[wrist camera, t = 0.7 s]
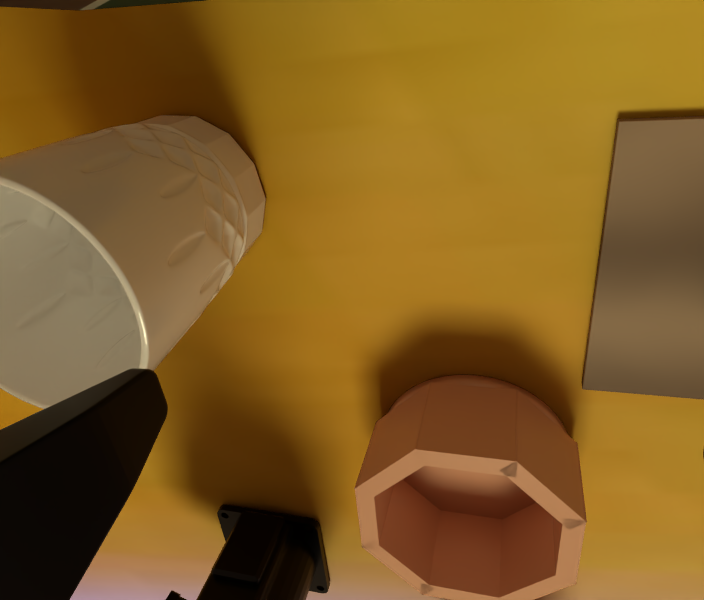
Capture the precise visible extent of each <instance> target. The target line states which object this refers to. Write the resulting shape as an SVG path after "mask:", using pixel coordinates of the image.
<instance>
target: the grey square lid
mask: <svg viewBox="0 0 704 600" xmlns="http://www.w3.org/2000/svg"><path fill="white" fill-rule="evenodd" d="M582 389H586V390H598V391H610V392H622V393H634V394H646V395H658V396H670V397H681V398H693V399H704V116H689V117H661V118H634V119H617V126H616V133H615V141H614V148H613V155H612V163H611V170H610V178H609V185H608V192H607V200H606V207H605V215H604V222H603V229H602V237H601V244H600V252H599V259H598V266H597V274H596V281H595V289H594V296H593V303H592V311H591V318H590V326H589V333H588V340H587V348H586V355H585V363H584V370H583V377H582Z"/></svg>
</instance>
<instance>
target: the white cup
mask: <svg viewBox="0 0 704 600" xmlns="http://www.w3.org/2000/svg"><path fill="white" fill-rule="evenodd" d="M265 202H266V198H265V195H264V192H263V189H262V186H261V183H260V180H259V177H258V174H257V171H256V168H255V165H254V163H253V162H252V161H251V159H250V158H249V157H248V156H247V155H246V153H245V152H244V151H243V150H242V148H241V147H240V146H239V145H238V144H237V143H236V141H235V140H234V139H233V138H232V136H231V135H230V134H229V133H227V132H225V131H223V130H221V129H219V128H217V127H215V126H214V125H212V124H210V123H208V122H206V121H204V120H202V119H200V118H199V117H197V116H176V115H160V116H157V117H153V118H150V119H147V120H144V121H141V122H137V123H134V124H127V125H121V126H115V127H110V128H106V129H103V130H100V131H97V132H94V133H88V134H84V135H79V136H75V137H72V138H68V139H64V140H61V141H57V142H54V143H51V144H47V145H44V146H40V147H37V148H34V149H30V150H27V151H23V152H20V153H17V154H13V155H10V156H6V157H3V158H0V388H1V389H3V390H4V391H6V392H8V393H9V394H11V395H13V396H15V397H17V398H19V399H21V400H23V401H25V402H27V403H30V404H32V405H35V406H37V407H40V408H43V409H46V408H48V407H50V406H52V405H54V404H56V403H58V402H60V401H63V400H65V399H67V398H69V397H71V396H73V395H75V394H77V393H80V392H82V391H84V390H86V389H88V388H90V387H92V386H94V385H96V384H99V383H101V382H103V381H105V380H107V379H109V378H111V377H113V376H115V375H118V374H120V373H122V372H124V371H126V370H128V369H132V368H141V369H150V370H153V371H154V370H155V369H156V368H157V366H158V365H159V364H160V363H161V362H162V360H163V359H164V358H165V357H166V356H167V354H168V353H169V352H170V351H171V350H172V349H173V347H174V346H175V345H176V344H177V343H178V341H179V340H180V339H181V338H182V337H183V335H184V334H185V333H186V332H187V331H188V330H189V328H190V327H191V326H192V325H193V324H194V323H195V321H196V320H197V319H198V318H199V317H200V315H201V314H202V313H203V311H204V310H205V308H206V307H207V305H208V304H209V303H210V302H211V301H212V300H213V298H214V297H215V296H216V295H217V294H218V292H219V291H220V289H221V288H222V286H223V285H224V284H225V283H226V282H227V281H228V279H229V278H230V277H231V276H232V274H233V272H234V269H235V266H236V265H237V264H238V263H239V262H240V261H241V259H242V258H243V257H244V256H245V255H246V253H247V252H248V250H249V249H250V248H251V246H252V245H253V244H254V242H255V241H256V239H257V238H258V237H259V235H260V234H261V232H262V229H263V220H264V211H265Z"/></svg>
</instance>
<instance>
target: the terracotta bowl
mask: <svg viewBox="0 0 704 600" xmlns="http://www.w3.org/2000/svg"><path fill="white" fill-rule="evenodd" d="M355 493H356V501H357V509H358V517H359V525H360V533H361V542H362V548H364V549H365V550H366V551H368V552H369V553H370V554H371V555H373V556H374V557H375V558H377V559H378V560H379V561H380V562H382V563H383V564H384V565H385V566H387V567H388V568H389V569H391V570H392V571H393V572H394V573H396V574H397V575H398V576H399V577H401V578H402V579H403V580H405V581H406V582H407V583H408V584H410V585H411V586H412V587H413V588H415V589H416V590H417V591H419V592H420V593H421V594H422V595H428V596H434V597H439V598H444V599H449V600H535V599H537V598H540V597H542V596H545V595H548V594H550V593H553V592H556V591H558V590H561V589H564V588H566V587H569V586H572V585H574V584H577V583H576V580H577V574H578V567H579V561H580V555H581V549H582V543H583V537H584V531H585V525H586V522H587V521H586V512H585V504H584V495H583V487H582V478H581V469H580V461H579V452H578V444H577V442H575V441H574V440H573V439H572V438H571V437H569V436H568V433H567V431H566V429H565V427H564V425H563V424H562V422H561V421H560V419H559V418H558V417H557V415H556V414H555V413H554V412H553V411H552V410H551V409H550V408H549V407H548V406H547V405H546V404H545V403H544V402H543V401H541V400H540V399H539V398H537V397H536V396H534V395H533V394H531V393H529V392H528V391H526V390H524V389H522V388H520V387H518V386H516V385H514V384H511V383H508V382H505V381H502V380H499V379H495V378H490V377H485V376H477V375H450V376H444V377H438V378H434V379H431V380H428V381H425V382H423V383H420V384H418V385H416V386H414V387H412V388H411V389H409V390H408V391H406V392H405V393H404V394H403V395H401V396H400V397H399V398H398V399H397V400H396V401H395V403H394V404H393V405H392V406H391V408H390V410H389V412H388V413H387V414H386V415H385V416H384V417H382V418H381V419H379V420H378V421H377V422H376V424H375V428H374V431H373V434H372V437H371V440H370V443H369V446H368V449H367V452H366V455H365V458H364V461H363V464H362V467H361V470H360V473H359V476H358V479H357V483H356V486H355Z"/></svg>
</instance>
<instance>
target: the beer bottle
mask: <svg viewBox="0 0 704 600" xmlns="http://www.w3.org/2000/svg"><path fill="white" fill-rule="evenodd" d="M192 1H204V0H0V6H1V7H21V8H41V9H61V10H90V9H103V8H116V7H128V6H141V5H154V4H166V3H179V2H192Z"/></svg>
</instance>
